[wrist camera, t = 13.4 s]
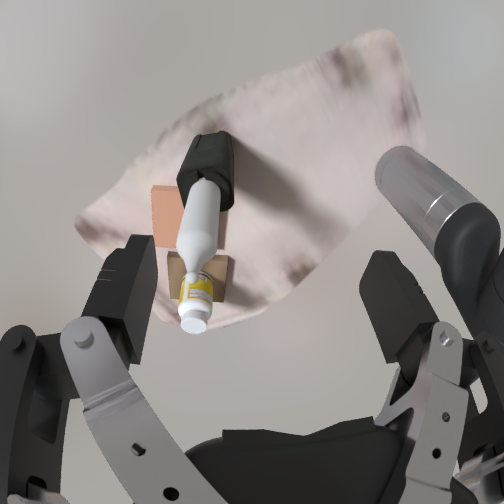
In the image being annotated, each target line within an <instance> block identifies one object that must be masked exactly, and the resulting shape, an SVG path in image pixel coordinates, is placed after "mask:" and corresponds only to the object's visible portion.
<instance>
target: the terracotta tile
mask: <svg viewBox="0 0 504 504" xmlns="http://www.w3.org/2000/svg"><path fill="white" fill-rule="evenodd" d="M151 202H152V220H153V235H154V242H155V247H167V248H176V242H177V237H178V233H179V229H180V225H181V222H182V218H183V214H184V210H185V209H184V207H183V203H182V200H181V196H180V192H179V189H178V187H175V186H154V185H153V187H152V189H151Z"/></svg>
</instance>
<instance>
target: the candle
mask: <svg viewBox="0 0 504 504" xmlns="http://www.w3.org/2000/svg"><path fill="white" fill-rule="evenodd" d="M176 180H177V185H178V189H179V192H180V196H181V200H182V203H183V207H184V209H185V210H184V214H183V218H182V222H181V225H180V229H179V233H178V237H177V242H176V248H177V252H178V254H179V255H180V256H181V258H182V259H183V260H184V262H185V266H186V269H187V274H186V277H185V278H186V281H187V282H188V283H190V284H195V283H197V282H198V280H199V275H198V274H199V272H200V270H201V269H202V267H203V265H204V264H205V263H206V262H208V261H210V260H211V259H212V258H213V257H214V255H215V254H216V251H217V245H218V228H219V212H222V211H227V210H229V209H230V208H231V207H232V206H233V204H234V156H233V150H232V144H231V138H230V135H229V134H228V133H227V132H225V131H219V132H218V133H213V134H207V135H201V134H200V135H197V136H196V137H195V138H194V139H193V141H192V144H191V146H190V148H189V150H188V152H187V155H186V157H185V159H184V161H183V164H182V166H181V168H180V171H179V173H178V175H177V179H176Z"/></svg>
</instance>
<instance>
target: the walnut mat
mask: <svg viewBox="0 0 504 504" xmlns="http://www.w3.org/2000/svg"><path fill="white" fill-rule="evenodd" d="M167 264H168V277H169V289H170V299H180V292H181V285H182V280H183V277H184V276H185V275H186V274H187V269H186V266H185V262H184V260H183V259H182V258H181V256H180V255H179V254H178V252H168V256H167ZM227 265H228V256H226V255H214V257H213V258H212V259H211V260H210V261H208V262H206V263H205V264H204V265H203V267H202V269H201V270H200V271H202V272H205V273H206V274H208V275H209V276H210V277H211V278H212V281H213V299H212V302H224V293H225V284H226V274H227Z"/></svg>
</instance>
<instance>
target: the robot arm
mask: <svg viewBox="0 0 504 504" xmlns="http://www.w3.org/2000/svg"><path fill="white" fill-rule="evenodd" d="M375 180H376V185H377V187H378V189H379V191H380V192H381V193H382V194H383V195H384V196H385V198H386V199H387V200H388V201H389V202H390V203H391V205H392V206H393V207H394V208H395V209H396V210H397V212H398V213H399V214H400V215H401V216H402V218H403V219H404V220H405V221H406V222H407V224H408V225H409V226H410V227H411V229H412V230H413V231H414V232H415V233H416V235H417V236H418V237H419V239H420V240H421V241H422V242H423V244H424V245H425V246H426V248H427V249H428V250H429V252H430V253H431V254H432V256H433V257H434V258H435V260H436V261H437V263H438V264H439V265H440V267H441V272H442V277H443V281H444V283H445V286H446V288H447V290H448V291H449V293H450V295H451V297H452V298H453V300H454V302H455V304H456V306H457V308H458V310H459V312H460V314H461V316H462V318H463V320H464V322H465V324H466V326H467V328H468V330H469V332H470V333H471V335H472V337H473V339H474V340H469V339H464V338H462V337H461V335H460V333H459V332H458V330H457V329H456V328H455V327H454V326H452V325H451V324H449V323H447V322H443V321H442V322H440V321H439V319H438V317H437V315H436V313H435V312H434V310H433V308H432V306H431V304H430V302H429V301H428V299H427V297H426V296H425V294H423V291H422V289H421V287H420V286H418V282H417V280H416V279H415V277H414V275H413V274H412V273H411V272H410V271H409V270H408V269H407V268H406V267H405V266H404V265H403V264H402V263H401V261H400V259H399V258H398V256H397V255H396V253H395V252H393V251H379V250H376V251H375V252H374V253H373V254H372V256H371V258H370V261H369V263H368V265H367V268H366V269H365V272H364V274H363V276H362V278H361V280H360V285H359V292H360V296H361V298H362V301H363V303H364V305H365V308H366V310H367V313H368V315H369V318H370V320H371V323H372V325H373V328H374V331H375V333H376V335H377V338H378V341H379V344H380V346H381V349H382V352H383V354H384V357H385V360H386V363H387V364H388V363H394V362H399V365H400V366H399V367H398V368H397V370H396V372H395V375H394V378H393V381H392V384H391V387H390V389H389V392H388V395H387V398H386V401H385V403H384V406H383V408H382V410H381V412H380V414H379V415H378V416H377V417H376V419H375V420H373V416H371V417H366V418H361V419H355V420H350V421H343V422H339V423H337V424H335V425H333V426H330V427H327V428H325V429H323V430H320V431H317V432H315V433H312V434H310V435H305V436H301V435H293V434H287V433H281V432H275V431H270V430H264V429H260V430H259V429H258V430H223V431H222V437H219V438H215V439H211V440H208V441H205V442H203V443H200V444H198V445H196V446H194V447H193V448H191V449H190V450H188V451H186V452H185V453H183V451H182V450H181V449H180V447H179V446H178V445H177V444H176V442H175V441H174V439H173V438H172V437H171V435H170V434H169V433H168V431H167V430H166V429H165V427H164V426H163V424H162V423H161V421H160V420H159V418H158V417H157V415H156V414H155V412H154V411H153V410H152V408H151V407H150V405H149V403H148V402H147V400H146V399H145V397H144V395H143V394H142V392H141V391H140V389H139V388H138V386H137V385H136V384H135V382H134V381H133V379H132V378H131V376H130V374H129V372H128V371H129V366H130V363H131V364H138V365H139V364H140V361H141V356H142V351H143V346H144V341H145V336H146V331H147V326H148V321H149V317H150V313H151V308H152V304H153V300H154V296H155V292H156V287H157V281H158V268H157V260H156V251H155V242H154V237H153V235H136V234H132V235H131V236H130V238H129V240H128V242H127V245H126V247H125V249H121V248H116V249H115V250H114V251H113V252H112V253H111V254H110V255H109V256H108V257H107V258H106V260H105V262H104V264H103V267H102V269H101V271H100V273H99V275H98V277H97V281H96V282H95V284H94V286H93V289H92V291H91V293H90V296H89V298H88V300H87V303H86V305H85V308H84V310H83V312H82V315H81V317H79V318H76V319H74V320H72V321H71V322H69V323H68V324H67V325H66V326H65V327H64V329H63V331H62V332H61V333H57V334H50V335H42V336H36V335H35V333H34V332H33V330H32V329H31V328H30V327H28V326H25V325H17V326H14V327H12V328H11V329H9V330H8V331H7V332H6V333H5V334H4V335H3V337H2V339H1V341H0V504H70V503H69V502H68V501H67V500H66V499H65V498H64V497H63V496H62V495H60V482H61V481H60V480H61V465H62V453H63V443H64V435H65V427H66V420H67V414H68V408H69V402H70V399H75V398H81V400H82V402H83V405H84V408H85V409H84V411H83V414H84V417H85V420H86V422H87V424H88V426H89V428H90V430H91V432H92V434H93V436H94V438H95V440H96V442H97V444H98V446H99V447H100V449H101V451H102V453H103V455H104V456H105V458H106V460H107V462H108V463H109V465H110V467H111V468H112V470H113V472H114V473H115V475H116V476H117V478H118V479H119V481H120V482H121V484H122V485H123V487H124V488H125V490H126V491H127V493H128V494H129V496H130V497H131V499H132V500H133V501H134V503H133V504H500V503H501V502H502V501H504V248H503V250H502V252H501V254H500V256H499V249H500V238H501V231H500V225H499V222H498V220H497V218H496V217H495V215H494V214H493V213H492V212H491V211H490V210H489V209H488V208H487V207H486V206H484V205H483V204H482V203H481V202H480V201H479V200H478V199H477V198H475V197H474V196H473V195H472V194H471V193H470V192H469V191H467V190H466V189H465V188H464V187H463V186H461V185H460V184H459V183H458V182H456V181H455V180H454V179H453V178H452V177H450V176H449V175H448V174H446V173H445V172H444V171H443V170H441V169H440V168H439V167H437V166H436V165H435V164H433V163H432V162H430V161H429V160H428V159H426V158H425V157H424V156H422V155H421V154H419V153H418V152H416V151H415V150H413V149H412V148H409V147H406V146H400V147H395V148H393V149H391V150H389V151H388V152H387V153H386V154H385V155H384V156H383V157H382V158H381V160H380V161H379V163H378V165H377V168H376V172H375ZM479 377H480V380H481V383H482V385H483V388H484V390H485V393H486V396H487V400H488V404H487V407H486V409H485V410H484V412H482V413H481V414H479V413H478V410H477V406H476V403H475V400H474V397H473V394H472V391H471V389H470V385H471V384H472V383H473V382H474V381H476V380H477V379H478V378H479ZM457 459H458V464H459V469H460V473H457V474H456V475H455V476H454V477H453V476H452V475H453V471H454V467H455V464H456V460H457Z"/></svg>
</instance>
